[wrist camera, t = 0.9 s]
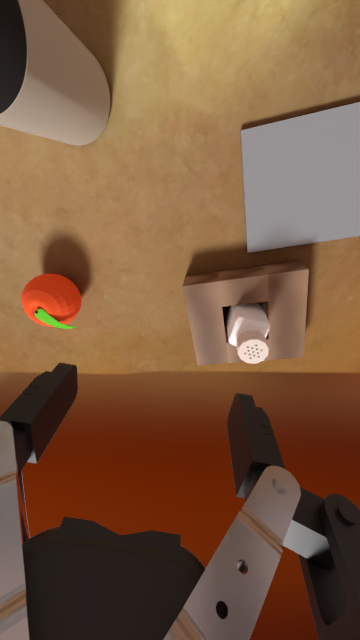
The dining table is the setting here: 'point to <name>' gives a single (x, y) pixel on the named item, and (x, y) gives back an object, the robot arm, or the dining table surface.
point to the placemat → (302, 179)
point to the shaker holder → (244, 288)
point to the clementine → (51, 300)
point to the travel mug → (48, 76)
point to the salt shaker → (248, 331)
